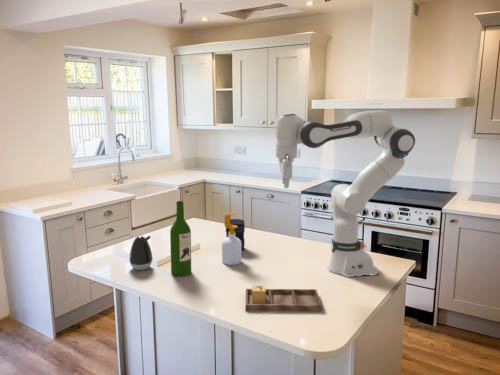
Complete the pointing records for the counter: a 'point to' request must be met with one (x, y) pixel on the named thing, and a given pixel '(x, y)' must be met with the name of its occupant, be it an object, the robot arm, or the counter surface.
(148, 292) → the counter surface
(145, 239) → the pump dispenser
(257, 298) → the letter cube
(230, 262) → the soap bottle
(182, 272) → the wine bottle
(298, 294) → the organiser
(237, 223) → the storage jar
